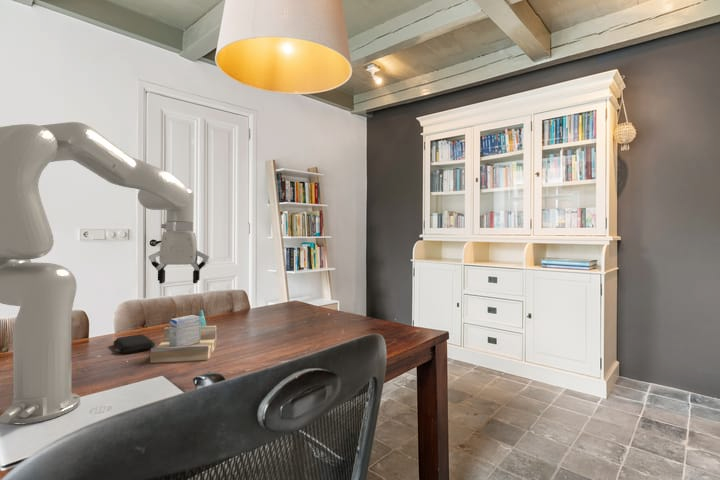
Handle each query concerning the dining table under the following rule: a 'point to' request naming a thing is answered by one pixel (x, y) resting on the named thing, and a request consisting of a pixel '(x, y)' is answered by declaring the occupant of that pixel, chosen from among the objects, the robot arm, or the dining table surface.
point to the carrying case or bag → (133, 344)
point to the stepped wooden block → (185, 347)
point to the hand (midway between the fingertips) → (178, 282)
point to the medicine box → (184, 331)
